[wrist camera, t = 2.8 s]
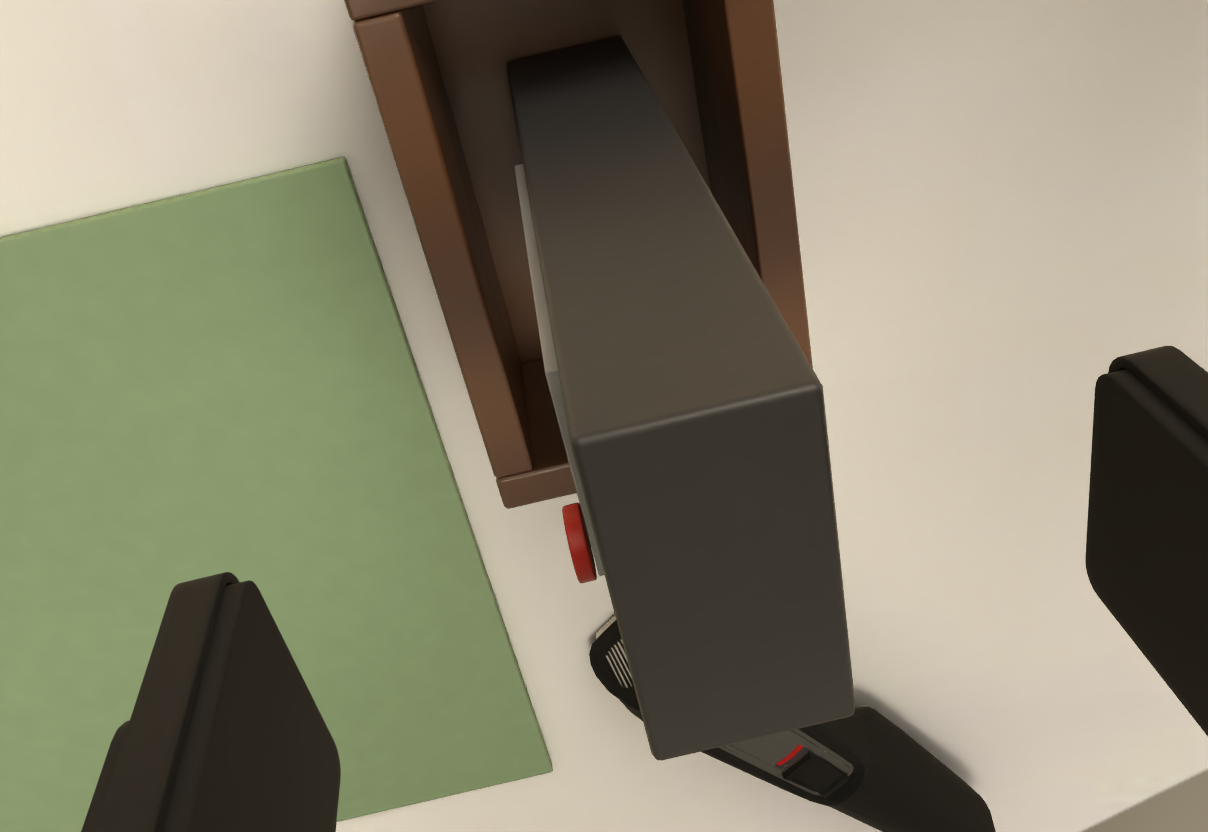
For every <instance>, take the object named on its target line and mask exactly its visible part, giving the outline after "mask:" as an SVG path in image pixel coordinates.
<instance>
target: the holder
mask: <svg viewBox="0 0 1208 832" xmlns="http://www.w3.org/2000/svg"><path fill="white" fill-rule="evenodd" d="M344 1H345V4H346V7H347V10H348V14H349V17H350V18H351V20H353V21H354V23H353V29H354V32H355V35H356V39H357V42H358V45H359V48H360V51H361V55H362V58H363V61H364V64H365V67H366V70H367V74H368V77H369V80H370V83H371V86H372V89H373V93H374V96H375V99H376V102H377V105H378V108H379V112H380V115H381V118H382V121H383V124H384V127H385V131H386V134H387V137H388V140H389V143H390V146H391V150H392V153H393V156H394V159H395V162H396V165H397V169H398V172H399V175H400V178H401V181H402V184H403V188H404V191H405V194H406V197H407V200H408V203H409V207H410V210H411V213H412V216H413V219H414V222H415V226H416V229H417V232H418V235H419V238H420V241H421V245H422V248H423V251H424V254H425V257H426V260H427V264H428V267H429V270H430V273H431V276H432V279H433V283H434V286H435V289H436V292H437V295H438V298H439V302H440V305H441V308H442V311H443V314H444V317H445V321H446V324H447V327H448V330H449V333H450V336H451V340H452V343H453V346H454V349H455V352H456V355H457V359H458V362H459V365H460V368H461V371H462V375H463V378H464V381H465V384H466V387H467V390H468V394H469V397H470V400H471V403H472V406H473V409H474V413H475V416H476V419H477V422H478V425H479V428H480V432H481V435H482V438H483V441H484V444H485V447H486V451H487V454H488V457H489V460H490V463H491V466H492V470H493V473H494V475H495V476H496V482H497V485H498V488H499V492H500V495H501V498H502V501H503V504H504V506H505V507H506V508H508V509H510V508H514V507H518V506H523V505H527V504H531V503H535V502H540V501H544V500H548V499H552V498H557V497H561V496H565V495H570V494H574V493H577V491H576V487H575V483H574V480H573V476H572V472H571V468H570V465H569V461H568V457H567V453H566V450H565V446H564V442H563V438H562V435H561V431H560V427H559V423H558V420H557V416H556V412H555V408H554V405H553V401H552V397H551V393H550V390H549V386H548V382H547V378H546V375H545V369H544V362H543V356H542V349H541V342H540V335H539V329H538V322H537V315H536V308H535V302H534V295H533V288H532V282H531V275H530V268H529V261H528V255H527V248H526V241H525V234H524V228H523V221H522V214H521V207H520V201H519V194H518V187H517V181H516V174H515V166H516V165H520V164H523V161H522V155H521V149H520V143H519V137H518V131H517V125H516V119H515V114H514V108H513V102H512V96H511V90H510V84H509V78H508V72H507V63H508V62H510V61H513V60H517V59H521V58H526V57H530V56H534V55H538V54H542V53H547V52H551V51H555V50H559V49H564V48H568V47H572V46H576V45H581V44H585V43H589V42H593V41H598V40H602V39H606V38H610V37H615V36H621V37H622V39H623V40H624V42H625V44H626V45H627V47H628V49H629V51H630V52H631V54H632V56H633V58H634V59H635V61H636V63H637V65H638V66H639V68H640V70H641V71H642V73H643V75H644V77H645V78H646V80H647V82H648V84H649V85H650V87H651V89H652V91H653V92H654V94H655V96H656V98H657V99H658V101H659V103H660V105H661V106H662V108H663V110H664V111H665V113H666V115H667V117H668V118H669V120H670V122H671V124H672V125H673V127H674V129H675V131H676V132H677V134H678V136H679V138H680V139H681V141H682V143H683V145H684V146H685V148H686V150H687V151H688V153H689V155H690V157H691V158H692V160H693V162H694V164H695V165H696V167H697V169H698V171H699V172H700V174H701V176H702V178H703V179H704V181H705V183H706V184H707V186H708V188H709V190H710V191H711V193H712V195H713V197H714V198H715V200H716V202H717V204H718V205H719V207H720V209H721V211H722V212H723V214H724V216H725V218H726V219H727V221H728V223H729V224H730V226H731V228H732V230H733V231H734V233H735V235H736V237H737V238H738V240H739V242H740V244H741V245H742V247H743V249H744V251H745V252H746V254H747V256H748V258H749V259H750V261H751V263H752V264H753V266H754V268H755V270H756V271H757V273H758V275H759V277H760V278H761V280H762V282H763V284H764V285H765V287H766V289H767V291H768V292H769V294H770V296H771V298H772V299H773V301H774V303H775V304H776V306H777V308H778V310H779V311H780V313H781V315H782V317H783V318H784V320H785V322H786V324H787V325H788V327H789V329H790V331H791V332H792V334H793V336H794V337H795V339H796V341H797V343H798V344H799V346H800V348H801V350H802V351H803V353H804V355H805V357H806V358H807V360H808V362H809V364H810V365H811V367H812V369H813V366H812V357H811V347H810V338H809V329H808V319H807V310H806V301H805V291H804V282H803V273H802V263H801V254H800V245H799V235H798V226H797V216H796V207H795V198H794V188H793V179H792V170H791V160H790V151H789V142H788V132H787V123H786V114H785V104H784V95H783V85H782V76H781V67H780V57H779V48H778V39H777V29H776V20H775V11H774V1H773V0H344Z"/></svg>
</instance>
